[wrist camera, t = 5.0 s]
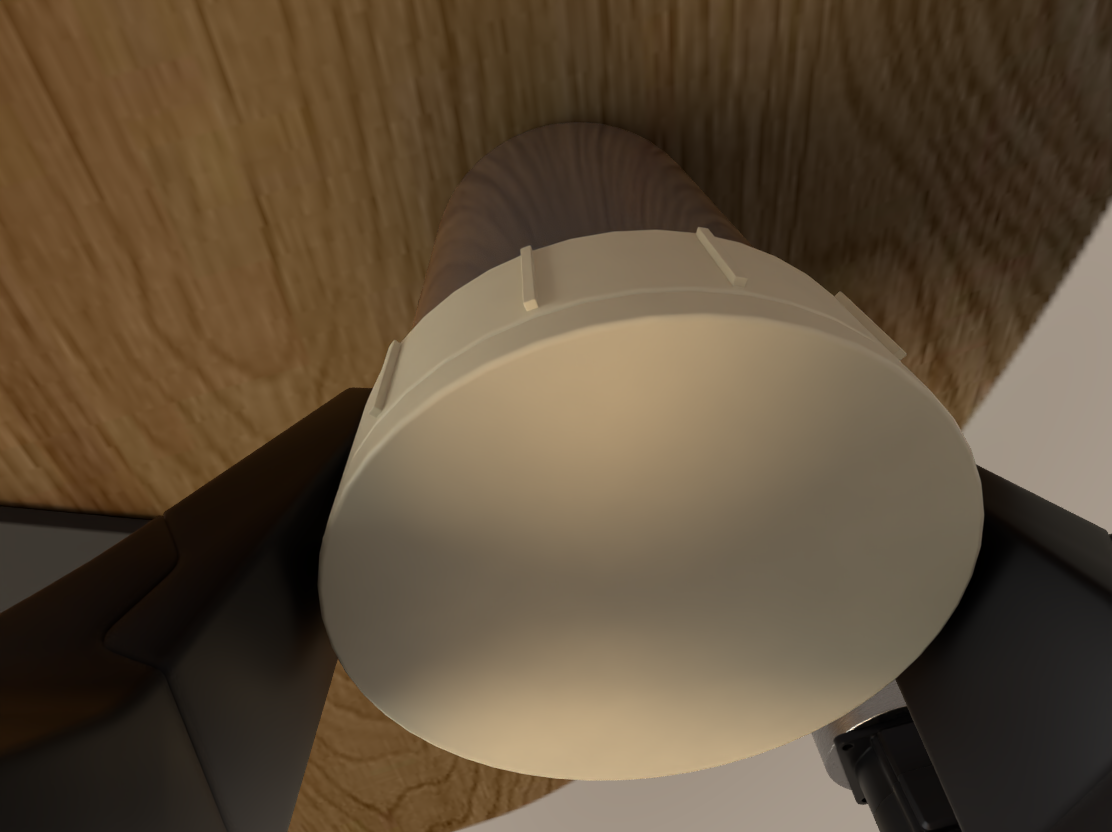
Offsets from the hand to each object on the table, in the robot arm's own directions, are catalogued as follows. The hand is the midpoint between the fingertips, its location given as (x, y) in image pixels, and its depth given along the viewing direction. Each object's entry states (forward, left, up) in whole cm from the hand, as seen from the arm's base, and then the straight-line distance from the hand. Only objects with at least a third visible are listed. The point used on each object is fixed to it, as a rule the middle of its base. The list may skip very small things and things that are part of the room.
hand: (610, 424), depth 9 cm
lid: (0, 0, +3) cm, 3 cm away
